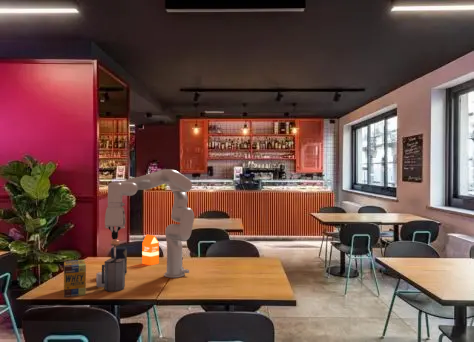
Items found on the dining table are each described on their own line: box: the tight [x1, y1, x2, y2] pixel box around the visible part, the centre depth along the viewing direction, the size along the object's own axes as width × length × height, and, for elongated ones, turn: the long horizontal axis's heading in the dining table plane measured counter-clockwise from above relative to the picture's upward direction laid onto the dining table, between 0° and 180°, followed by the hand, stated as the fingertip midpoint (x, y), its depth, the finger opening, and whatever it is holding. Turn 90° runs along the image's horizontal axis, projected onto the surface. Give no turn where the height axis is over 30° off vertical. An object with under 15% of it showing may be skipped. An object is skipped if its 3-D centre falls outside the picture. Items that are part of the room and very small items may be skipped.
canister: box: [110, 245, 128, 275], centre depth 246 cm, size 10×10×18 cm
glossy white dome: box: [95, 271, 105, 288], centre depth 221 cm, size 7×7×7 cm
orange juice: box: [141, 234, 160, 266], centre depth 278 cm, size 8×9×20 cm
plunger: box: [110, 239, 120, 263], centre depth 215 cm, size 7×7×13 cm
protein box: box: [63, 259, 87, 298], centre depth 209 cm, size 10×15×16 cm
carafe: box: [101, 258, 126, 293], centre depth 215 cm, size 12×10×16 cm
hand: (114, 239), depth 215 cm, fingers closed
